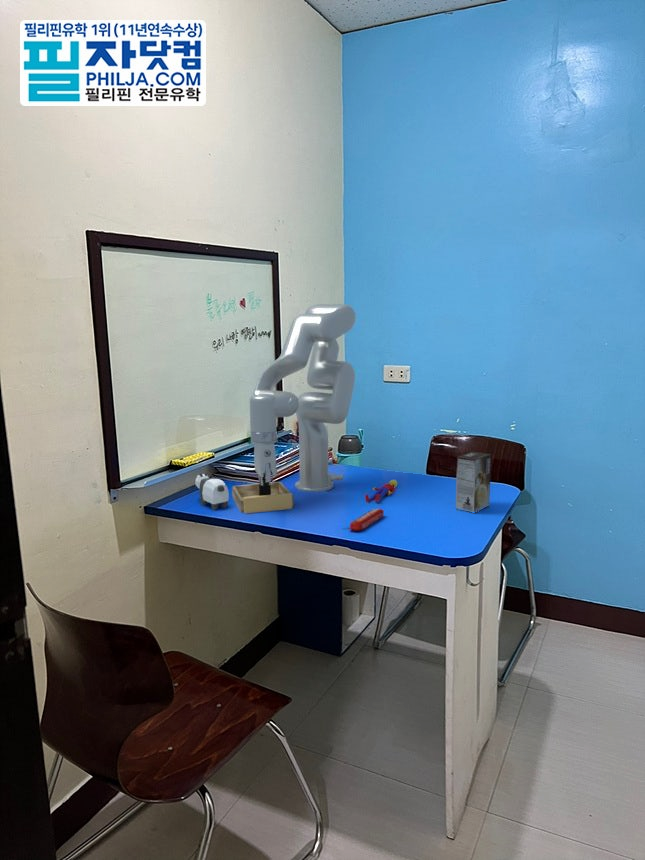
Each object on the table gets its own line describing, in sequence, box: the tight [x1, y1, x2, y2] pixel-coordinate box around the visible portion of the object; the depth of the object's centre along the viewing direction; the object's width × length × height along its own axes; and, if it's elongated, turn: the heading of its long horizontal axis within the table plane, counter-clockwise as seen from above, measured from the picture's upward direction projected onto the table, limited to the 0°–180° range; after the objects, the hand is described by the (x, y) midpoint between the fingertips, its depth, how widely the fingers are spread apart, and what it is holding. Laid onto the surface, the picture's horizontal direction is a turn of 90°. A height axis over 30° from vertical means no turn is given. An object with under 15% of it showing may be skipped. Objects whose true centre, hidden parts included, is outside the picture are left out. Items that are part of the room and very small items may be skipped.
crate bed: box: [231, 481, 294, 513], centre depth 192 cm, size 16×16×4 cm
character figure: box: [364, 479, 398, 503], centre depth 200 cm, size 6×4×20 cm
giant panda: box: [194, 472, 230, 511], centre depth 190 cm, size 15×6×10 cm, turn 40°
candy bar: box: [349, 508, 385, 532], centre depth 173 cm, size 16×4×3 cm, turn 149°
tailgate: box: [243, 492, 293, 514], centre depth 183 cm, size 14×1×4 cm, turn 107°
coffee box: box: [455, 451, 492, 513], centre depth 184 cm, size 9×6×16 cm
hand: (265, 497), depth 186 cm, fingers closed
